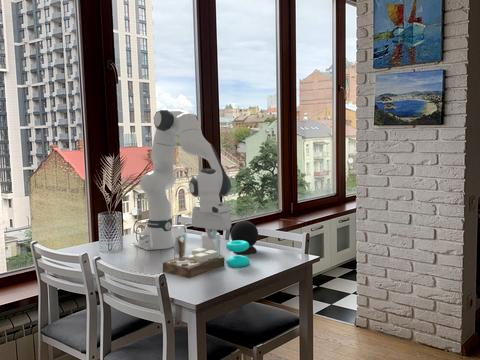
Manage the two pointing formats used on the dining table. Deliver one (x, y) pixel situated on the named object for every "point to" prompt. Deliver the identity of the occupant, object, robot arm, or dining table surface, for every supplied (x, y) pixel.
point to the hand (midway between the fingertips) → (211, 238)
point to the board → (191, 266)
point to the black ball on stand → (245, 235)
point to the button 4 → (212, 254)
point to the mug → (211, 243)
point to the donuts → (237, 259)
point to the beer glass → (179, 240)
